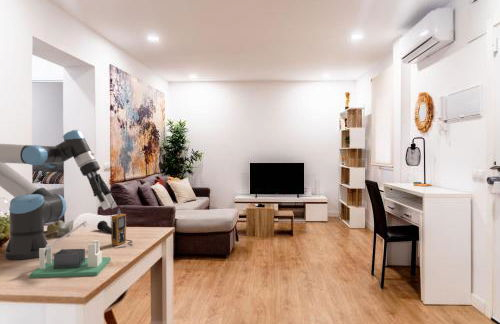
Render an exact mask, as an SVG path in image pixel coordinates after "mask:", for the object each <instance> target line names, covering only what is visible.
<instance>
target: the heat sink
mask: <svg viewBox="0 0 500 324" xmlns="http://www.w3.org/2000/svg"><path fill="white" fill-rule="evenodd" d="M85 258H86V248H66V249H65V248H61V249H60V250H59V251H57V252H56V253H54V254H53V259H54V266H53V269H69V268H79V267H80V266H81V265H82V264H83V263H84V262H85Z"/></svg>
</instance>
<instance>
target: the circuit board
mask: <svg viewBox="0 0 500 324" xmlns="http://www.w3.org/2000/svg"><path fill="white" fill-rule="evenodd" d="M100 241H101V240H98V239H97V240H96V239H95V240H92V241H91V243H88V244H87V257H85V262H84V263H83V264H82V265H81V266H80V267H79V268H69V269H53V266H54V258H53V246H52V247H50V250H49V251H47V252H46V255H45V248H40V249H39V257H38V258H39V259H38V260H39V261H38V263H39V264H38V266H39V267H37V268H36V269H35V270H34V271H32V272H31V273H29V278H30V279H34V278H35V279H36V278H37V279H39V278H60V277H61V278H64V277H66V278H67V277H92V276H93V277H94V276H95V277H96V276H98V275H100V273H101V271H103V269H104V268H105V267H106V266H107V265H108V264H109V263H110V261H111V257H110V256H108V257H105V256H104V257H103V250H100V247H101V246H100V245H101V244H100V243H101V242H100ZM51 244H52V243H50V244H49V243H48V244H47V245H46V246H50V245H51Z"/></svg>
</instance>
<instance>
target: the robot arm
mask: <svg viewBox="0 0 500 324" xmlns="http://www.w3.org/2000/svg"><path fill="white" fill-rule="evenodd" d="M62 138H63V140H64V141H62V142H59V144H56V145H54V146H52V145H50V146H49V145H34V144H33V145H31V144H29V145H28V144H11V143H10V144H9V143H0V187H1V188H2V189H3V190H5V191H6V193H9V194H10V195H11V196H13V198H11V200H9V207H8V211H9V238H8V241H7V245H6V247H5V250H4V259H7V260H12V261H13V260H17V261H18V260H28V259H35V258H39V249H40V248H45V247H46V245H47V244H49V243H48V241H47V239H46V238H47V237H45V235H44V231H45V224H49V223H53V222H56V220H57V219H58V220H61V218H63V216H64V215H65V213H66V211H67V202H66V200H65V198H64V197H63V196H62V195H61V194H58V193H52V192H50V191H49V190H47V189H46V188H44V187H42V186H41V187H38V186H36V185H35V184H33V183H32V182H31V181H29V180H28V179H27V178H25V177H24V176H22V175H21V174H20V173H19V172H17V171H16V170H15V169H13V168H12V167H11V166H9V165H8V164H21V165H22V164H24V165H31V166H41V165H44V166H45V167H47V168H48V169H53V168H55V167H58V166H60V165H61V164H63V163H65V162H67V161H68V160H69V159H72V158H73V159H74V161H75V163H76V165H77V167H78V168H79V170H80V172H81V174H82V176H84V177H86V179H88V182H89V185H90V188H91V190H92V193H93V196H94V197H96V198H97V200H98V202H99V203H100V206H101V208H102V209H103V211H105V210H106V211H107V210H108V209H111V204H112V209H115V208H117V207H118V204H117V202H116V200H114V198H113V196H112V193H113V191H112V190H110V189H109V188H108V185H107V184H106V182H105V181H104V179H103V178H102V176H101V174H100V173H98V171H99V170H100V169H101V167H100V165H99V163H98V161H96V157H95V153H94V152H92V150H91V148H90V146H89V144H88V142H87V140H86V137H85V136H84V134H83V133H82V131H81V130H80V129H73V130H70V131H68V132H66V133H64V134H63V136H62ZM113 201H114V202H113ZM112 202H113V203H112ZM45 256H46V252H45Z"/></svg>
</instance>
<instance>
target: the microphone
mask: <svg viewBox="0 0 500 324" xmlns="http://www.w3.org/2000/svg"><path fill="white" fill-rule="evenodd" d="M96 226H97V227H96V228H97V230H99V231H104V232H106V233H109V234H111V226H109V225H108V222H106V221H105V220H100V221H99V222H97V225H96Z"/></svg>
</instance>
